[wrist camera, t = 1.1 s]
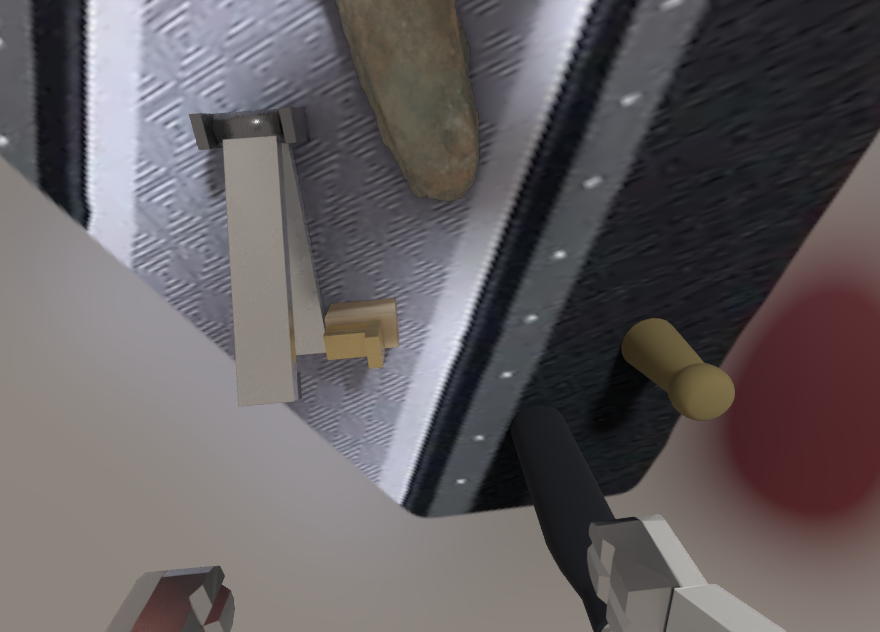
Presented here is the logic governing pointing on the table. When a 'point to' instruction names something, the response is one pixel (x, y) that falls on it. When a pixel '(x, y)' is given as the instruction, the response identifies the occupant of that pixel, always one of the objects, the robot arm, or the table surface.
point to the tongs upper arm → (259, 256)
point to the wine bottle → (562, 498)
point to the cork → (678, 370)
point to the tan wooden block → (367, 316)
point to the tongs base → (289, 230)
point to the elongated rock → (418, 89)
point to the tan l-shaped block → (356, 342)
